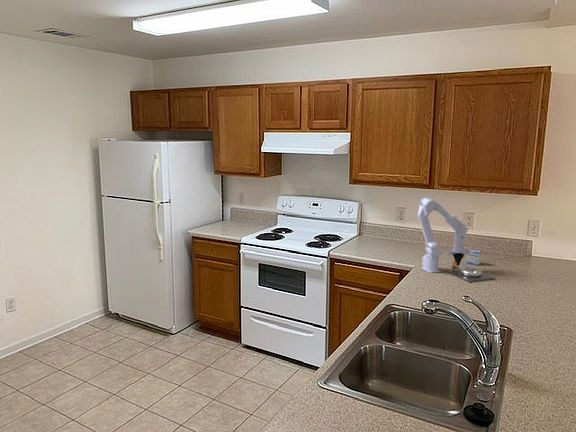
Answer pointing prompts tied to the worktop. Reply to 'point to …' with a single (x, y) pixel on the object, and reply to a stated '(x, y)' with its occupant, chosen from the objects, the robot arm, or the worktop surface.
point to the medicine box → (473, 257)
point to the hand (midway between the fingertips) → (457, 265)
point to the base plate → (471, 279)
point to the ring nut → (467, 270)
